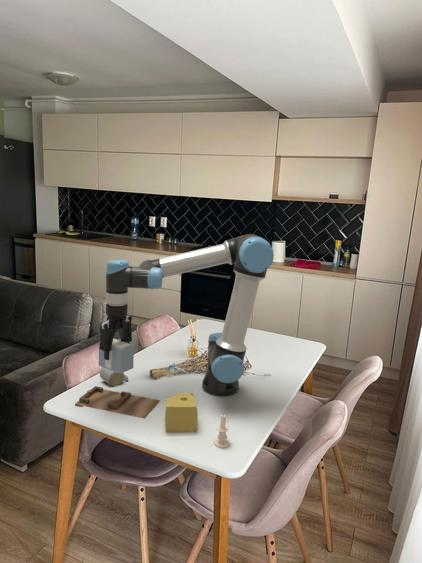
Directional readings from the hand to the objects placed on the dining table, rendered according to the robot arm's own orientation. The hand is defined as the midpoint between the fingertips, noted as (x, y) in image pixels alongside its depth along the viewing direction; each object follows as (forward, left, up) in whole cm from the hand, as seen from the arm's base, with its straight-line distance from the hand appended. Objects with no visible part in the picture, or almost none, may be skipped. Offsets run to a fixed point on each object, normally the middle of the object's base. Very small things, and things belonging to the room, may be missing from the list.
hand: (115, 364), depth 155 cm
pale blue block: (0, 0, -1) cm, 1 cm away
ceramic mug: (+9, -16, -16) cm, 24 cm away
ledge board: (-1, 0, -16) cm, 16 cm away
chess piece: (-44, +11, -16) cm, 48 cm away
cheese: (-28, +6, -16) cm, 33 cm away
